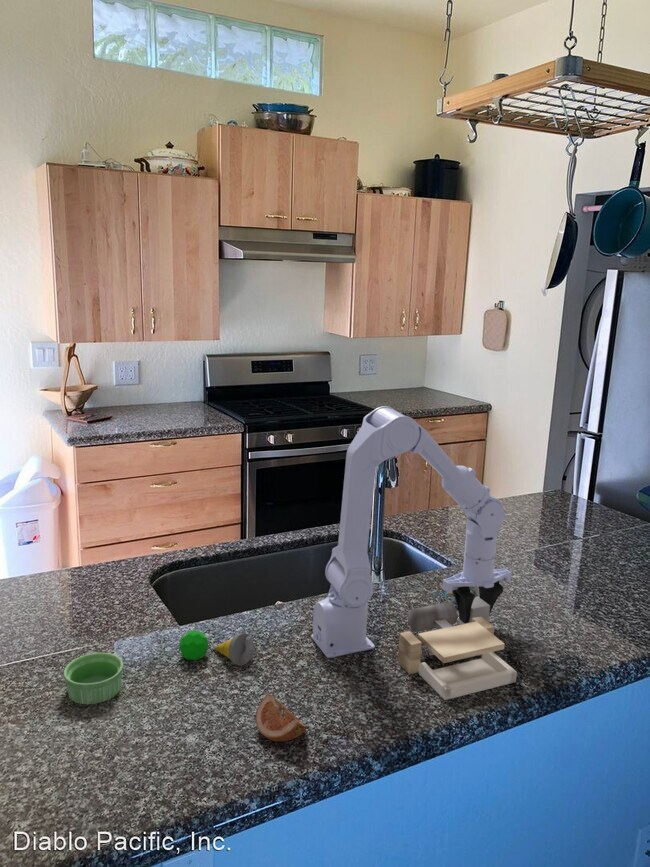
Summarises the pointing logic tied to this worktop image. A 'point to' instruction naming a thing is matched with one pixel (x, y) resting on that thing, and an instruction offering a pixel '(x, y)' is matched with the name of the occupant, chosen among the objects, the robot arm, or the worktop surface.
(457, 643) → the trapdoor
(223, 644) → the ice cream cone
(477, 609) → the grey rectangular block
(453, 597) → the dragon figurine
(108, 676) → the ramekin
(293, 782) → the worktop surface
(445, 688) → the tray
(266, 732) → the fruit slice
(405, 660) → the trapdoor posts
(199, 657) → the polyhedron
